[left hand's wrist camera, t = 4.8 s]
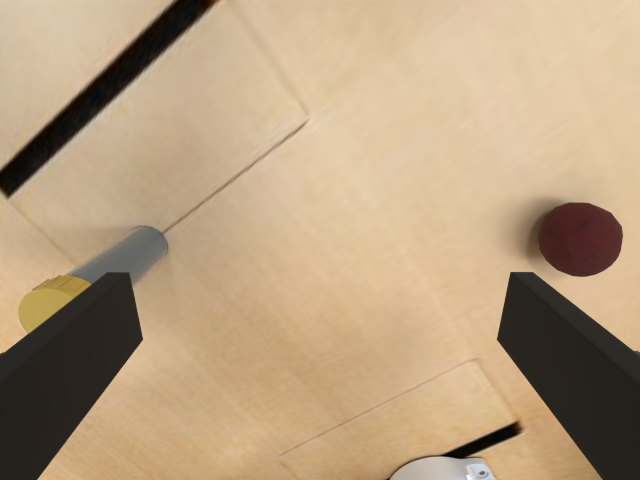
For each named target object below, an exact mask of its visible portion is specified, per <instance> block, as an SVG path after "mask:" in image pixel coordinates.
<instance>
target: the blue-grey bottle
mask: <svg viewBox="0 0 640 480" xmlns="http://www.w3.org/2000/svg"><path fill="white" fill-rule="evenodd" d="M167 251H168V245H167V241H166V239H165V237H164V236H163V235H162V234H161V233H160V232H159V231H158V230H156V229H154V228H152V227H148V226H140V227H136V228H134V229H133V230H131V231H130V232H128V233H127V234H125V235H124V236H122V237H121V238H119V239H118V240H116V241H115V242H113V243H112V244H110V245H109V246H107V247H106V248H104V249H103V250H101V251H100V252H98V253H97V254H95V255H94V256H92V257H91V258H89V259H88V260H86V261H85V262H83V263H81V264H80V265H78V266H77V267H75V268H74V269H72V270H71V271H69V272H68V273H66V274H65V275H63V276H74V277H78V278H81V279H83V280H85V281H87V282H89V283H90V284H93V283H94V282H95V281H97V280H98V279H99V278H100V277H102V276H103V275H104V274H105V273H107V272H129V273H130V278H131V282H132V287H133V288H134V287H135V286H136V285H137V284H138V283H139V282H140V281H141V280H142V279H143V278H144V277H145V276H146V275H147V274H149V273H150V272H151V271H152V270H153V269H154V268H155V267H156V266H157V265H158V264H159V263H160V262H161V261H162V260H163V259H164V258H165V256H166V254H167Z"/></svg>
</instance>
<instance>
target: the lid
mask: <svg viewBox="0 0 640 480" xmlns="http://www.w3.org/2000/svg"><path fill="white" fill-rule="evenodd" d="M90 285H91V284H90V283H89V282H87V281H85V280H83V279H81V278H78V277H74V276H60V275H59V276H57V277H54V278H52V279H50V280H49V279H48V280H46V281H45V282H43V283H42V284H40V285H38V286H37V287H35V288H34V289H32V290H33V291H31V292H30V293H28V294H27V295H26V296H25V297H24V298H23V299H22V301H21V303H20V305H19V319H20V322H21V324H22V326H23V327H24V329H25V330H26V332H27V333H28V334H29V333H30V332H31V331H33V330H34V329H35V328H37V327H38V326H39V325H40V324H42V323H43V322H44V321H45V320H47V319H48V318H49V317H51V316H52V315H53V314H54V313H56V312H57V311H58V310H60V309H61V308H62V307H63V306H65V305H66V304H67V303H68V302H70V301H71V300H72V299H74V298H75V297H76V296H77V295H79V294H80V293H81V292H83V291H84V290H85V289H86V288H88V287H89V286H90Z"/></svg>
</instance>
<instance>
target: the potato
mask: <svg viewBox="0 0 640 480" xmlns="http://www.w3.org/2000/svg"><path fill="white" fill-rule="evenodd" d="M622 238H623V233H622V226H621V225H620V224H619V222H618V221H617V220H616V219H615V217H614V216H613V215H612V213H610V212H608V211H606V210H604V209H602V208H600V207H597V206H595V205H592V204H589V203H567V204H564V205H561V206H558V207H556V208H555V209H553V210H552V211H551V212H550V213H549V214H548V215H547V216H546V218H545V219H544V221H543V223H542V226H541V230H540V233H539V248H540V250H541V253H542V254H543V256H544V257H545V259H546V260H547V261H548V262H549V263H550V264H551V265H552V266H553V267H554V268H556V269H557V270H558V271H561V272H564V273H566V274H569V275H572V276H579V277H586V276H591V275H595V274H598V273H600V272H602V271H604V270H605V269H607V268H608V267H610V266H611V265H612V264H613V263H614V262H615V261H616V259H617V258H618V256H619V253H620V251H621V245H622Z"/></svg>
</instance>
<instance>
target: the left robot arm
mask: <svg viewBox="0 0 640 480" xmlns="http://www.w3.org/2000/svg"><path fill="white" fill-rule="evenodd" d="M142 340H143V337H142V332H141V327H140V322H139V317H138V312H137V307H136V302H135V297H134V292H133V287H132V282H131V278H130V273H129V272H107V273H105V274H104V275H103V276H102V277H100V278H99V279H98V280H97V281H95V282H94V283H93V284H91V285H90V286H89V287H88V288H86V289H85V290H84V291H83V292H81V293H80V294H79V295H77V296H76V297H75V298H74V299H72V300H71V301H70V302H68V303H67V304H66V305H65V306H63V307H62V308H61V309H60V310H58V311H57V312H56V313H54V314H53V315H52V316H51V317H49V318H48V319H47V320H45V321H44V322H43V323H42V324H40V325H39V326H38V327H37V328H35V329H34V330H33V331H31V332H30V333H29V334H28V335H26V336H25V337H24V338H22V339H21V340H20V341H19V342H17V343H16V344H15V345H14V346H12V347H11V348H10V349H8V350H7V351H6V352H5V353H1V354H0V480H37V479H38V478H39V476H40V475H41V474H42V473H43V471H44V470H45V469H46V467H47V466H48V465H49V463H50V462H51V461H52V459H53V458H54V457H55V455H56V454H57V453H58V451H59V450H60V449H61V447H62V446H63V445H64V443H65V442H66V441H67V439H68V438H69V437H70V435H71V434H72V433H73V432H74V430H75V429H76V428H77V426H78V425H79V424H80V422H81V421H82V420H83V418H84V417H85V416H86V414H87V413H88V412H89V410H90V409H91V408H92V406H93V405H94V404H95V402H96V401H97V400H98V398H99V397H100V396H101V394H102V393H103V392H104V391H105V389H106V388H107V387H108V385H109V384H110V383H111V381H112V380H113V379H114V377H115V376H116V375H117V373H118V372H119V371H120V369H121V368H122V367H123V365H124V364H125V363H126V361H127V360H128V359H129V357H130V356H131V355H132V353H133V352H134V351H135V350H136V348H137V347H138V346H139V344H140V343H141V342H142ZM497 340H498V342H499V343H500V344H501V346H502V347H503V348H504V350H505V351H506V352H507V353H508V355H509V356H510V357H511V359H512V360H513V361H514V363H515V364H516V365H517V367H518V368H519V369H520V371H521V372H522V373H523V375H524V376H525V377H526V379H527V380H528V381H529V383H530V384H531V385H532V387H533V388H534V389H535V391H536V392H537V393H538V394H539V396H540V397H541V398H542V400H543V401H544V402H545V404H546V405H547V406H548V408H549V409H550V410H551V412H552V413H553V414H554V416H555V417H556V418H557V420H558V421H559V422H560V424H561V425H562V426H563V428H564V429H565V430H566V432H567V433H568V434H569V435H570V437H571V438H572V439H573V441H574V442H575V443H576V445H577V446H578V447H579V449H580V450H581V451H582V453H583V454H584V455H585V457H586V458H587V459H588V461H589V462H590V463H591V465H592V466H593V467H594V469H595V470H596V471H597V473H598V474H599V475H600V476H601V478H602V479H603V480H640V352H638V351H633V350H632V349H630V348H629V347H628V346H626V345H625V344H624V343H623V342H621V341H620V340H619V339H618V338H616V337H615V336H614V335H612V334H611V333H610V332H609V331H607V330H606V329H605V328H603V327H602V326H601V325H600V324H598V323H597V322H596V321H595V320H593V319H592V318H591V317H589V316H588V315H587V314H586V313H584V312H583V311H582V310H580V309H579V308H578V307H577V306H575V305H574V304H573V303H572V302H570V301H569V300H568V299H566V298H565V297H564V296H563V295H561V294H560V293H559V292H557V291H556V290H555V289H554V288H552V287H551V286H550V285H549V284H547V283H546V282H545V281H543V280H542V279H541V278H540V277H538V276H537V275H536V274H535V273H533V272H511V273H510V277H509V282H508V287H507V292H506V297H505V302H504V307H503V312H502V317H501V322H500V327H499V332H498V337H497Z"/></svg>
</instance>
